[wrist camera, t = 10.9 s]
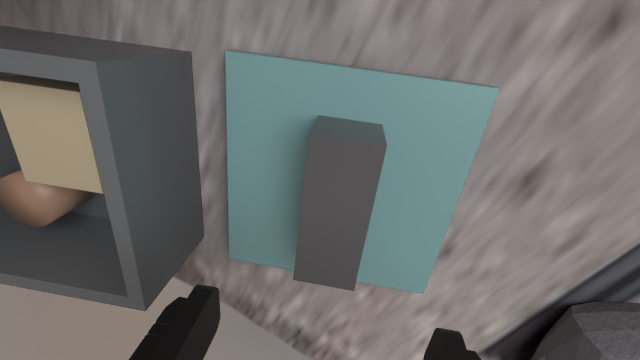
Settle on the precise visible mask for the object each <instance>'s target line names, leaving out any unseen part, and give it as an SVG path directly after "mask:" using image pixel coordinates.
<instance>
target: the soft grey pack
mask: <svg viewBox="0 0 640 360" xmlns="http://www.w3.org/2000/svg"><path fill="white" fill-rule="evenodd" d="M530 360H640V304H638V303H617V302H590V303H584V304H578V305H573V306H571V307H570V308H569V309H568V310H567V311H566V312H565V313H564V314H563V315H562V317H561V318H560V319H559V320H558V321H557V322H556V323H555V324H554V325H553V326H552V327H551V329H550V330H549V331H548V332H547V333H546V334H545V336H544V338H543V339H542V341H541V342H540V344H539V346H538V347H537V349H536V351H535V352H534V354H533V355H532V357H531V359H530Z"/></svg>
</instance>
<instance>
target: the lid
mask: <svg viewBox="0 0 640 360" xmlns="http://www.w3.org/2000/svg"><path fill="white" fill-rule="evenodd" d="M225 64H226V116H227V167H228V218H229V259H234V260H239V261H245V262H250V263H256V264H261V265H267V266H272V267H278V268H283V269H289V270H294V277H293V280H297V281H303V282H308V283H314V284H319V285H325V286H330V287H336V288H341V289H346V290H352V291H354V288H355V284H356V282H360V283H366V284H371V285H377V286H382V287H388V288H393V289H399V290H404V291H410V292H415V293H421V294H424V291H425V289H426V286H427V283H428V281H429V278H430V275H431V273H432V270H433V267H434V264H435V262H436V259H437V256H438V254H439V251H440V248H441V246H442V243H443V240H444V238H445V235H446V232H447V229H448V227H449V224H450V221H451V219H452V216H453V213H454V211H455V208H456V205H457V203H458V200H459V197H460V195H461V192H462V189H463V186H464V184H465V181H466V178H467V176H468V173H469V170H470V168H471V165H472V162H473V160H474V157H475V154H476V151H477V149H478V146H479V143H480V141H481V138H482V135H483V133H484V130H485V127H486V125H487V122H488V119H489V117H490V114H491V111H492V108H493V106H494V103H495V100H496V98H497V95H498V92H499V90H500V89H499V88H497V87H494V86H490V85H482V84H475V83H468V82H461V81H454V80H446V79H439V78H432V77H425V76H417V75H410V74H403V73H396V72H389V71H381V70H374V69H367V68H360V67H353V66H345V65H338V64H331V63H324V62H317V61H309V60H302V59H295V58H288V57H280V56H273V55H266V54H259V53H252V52H244V51H237V50H225Z"/></svg>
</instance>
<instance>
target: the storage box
mask: <svg viewBox="0 0 640 360" xmlns="http://www.w3.org/2000/svg"><path fill="white" fill-rule="evenodd" d="M203 237H204V231H203V216H202V202H201V187H200V173H199V159H198V144H197V130H196V116H195V101H194V87H193V72H192V58H191V52H188V51H181V50H174V49H166V48H159V47H152V46H144V45H137V44H129V43H122V42H115V41H107V40H100V39H93V38H85V37H78V36H71V35H63V34H56V33H49V32H41V31H34V30H26V29H19V28H12V27H4V26H0V283H1V284H6V285H11V286H17V287H22V288H27V289H32V290H38V291H43V292H48V293H53V294H59V295H64V296H69V297H74V298H79V299H85V300H90V301H95V302H100V303H106V304H111V305H116V306H121V307H127V308H132V309H137V310H143V311H146V310H147V309H148V307H149V306H150V305H151V304H152V302H153V301H154V300H155V298H156V297H157V296H158V295H159V293H160V292H161V291H162V290H163V288H164V287H165V286H166V284H167V283H168V282H169V280H170V279H171V278H172V277H173V275H174V274H175V273H176V272H177V270H178V269H179V268H180V266H181V265H182V264H183V263H184V261H185V260H186V259H187V258H188V256H189V255H190V254H191V252H192V251H193V250H194V249H195V247H196V246H197V245H198V243H199V242H200V241H201V240H202V238H203Z"/></svg>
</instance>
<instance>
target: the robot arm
mask: <svg viewBox="0 0 640 360" xmlns="http://www.w3.org/2000/svg"><path fill="white" fill-rule="evenodd" d="M219 320H220V302H219V289H218V288H217V287H211V286H205V285H200V284H198V285H196V286H195V287H194V289H193V290H192V292H191V293H190V295H189V297H188V298H182V297H178V298H177V299H176V300H175V301H173V302H172V303H171V304H169V305H168V306H167V307H166V308H165V309H164V310H163V312H162V313H161V315H160V316H159V317H158V319H157V320H156V323H155V324H154V325H153V326H152V327H151V329H150V330H149V332H148V335H146V336H145V337H144V339H143V340H142V342H141V343H140V345H139V346H138V348H137V349H136V350H135V352H134V353H133V355H132V356H131V357H130V359H129V360H203V358H204V356H205V354H206V352H207V350H208V348H209V345H210V344H211V341H212V340H213V337H214V335H215V333H216V331H217V328H218V324H219ZM424 360H481V359H480V357H479V356H478V355H477V353H476V352H475V351H470V350H467V349H466V346H465V343H464V340H463V337H462V335H461V333H460V332H458V331H453V330H448V329H442V328H436V329H435V331H434V333H433V335H432V337H431V340H430V342H429V344H428V347H427V349H426V351H425V354H424Z"/></svg>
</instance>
